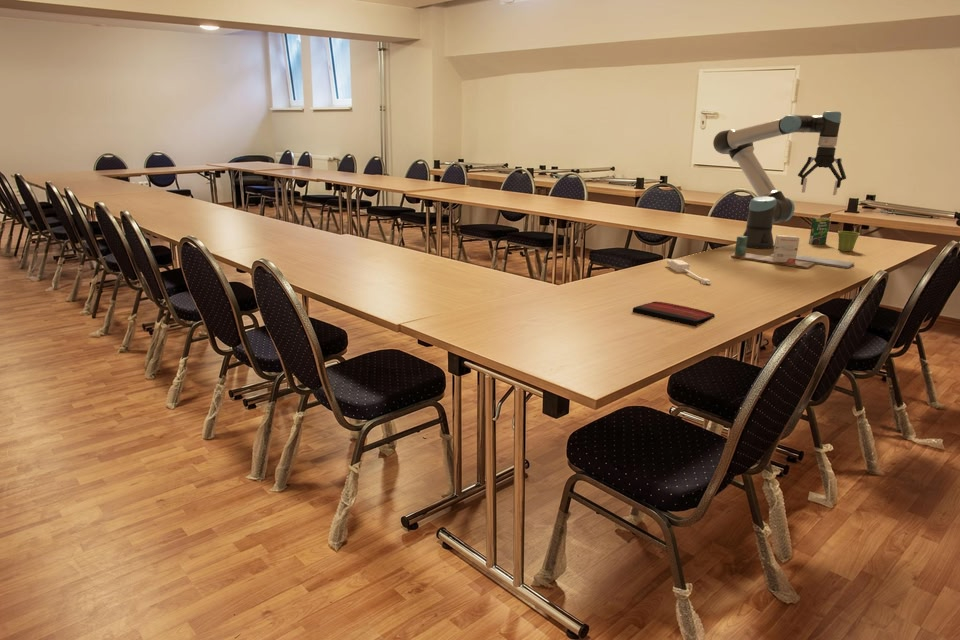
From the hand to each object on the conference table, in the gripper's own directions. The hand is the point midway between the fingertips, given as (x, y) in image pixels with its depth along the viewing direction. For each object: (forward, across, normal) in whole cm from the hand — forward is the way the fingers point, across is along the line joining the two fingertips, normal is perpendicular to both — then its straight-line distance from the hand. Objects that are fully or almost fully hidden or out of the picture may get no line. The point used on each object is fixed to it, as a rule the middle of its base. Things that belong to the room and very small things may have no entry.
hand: (818, 193), depth 309 cm
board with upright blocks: (+27, -4, -41) cm, 49 cm away
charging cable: (+27, -20, -93) cm, 99 cm away
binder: (+28, +1, -149) cm, 151 cm away
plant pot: (+27, +13, +13) cm, 33 cm away
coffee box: (+27, -2, +22) cm, 35 cm away
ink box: (+27, +1, -41) cm, 49 cm away
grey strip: (+27, +8, -27) cm, 39 cm away
